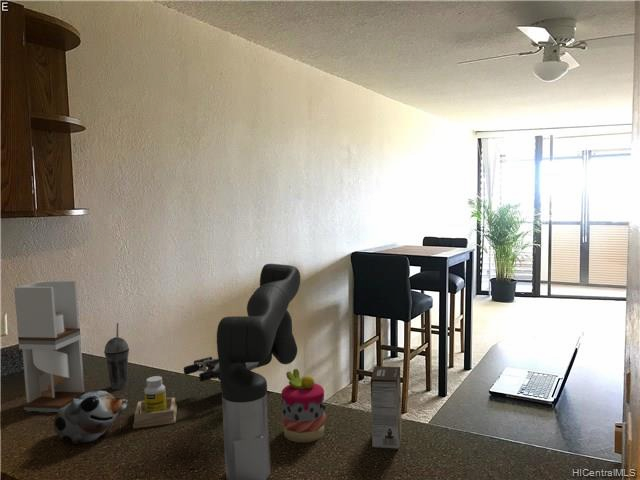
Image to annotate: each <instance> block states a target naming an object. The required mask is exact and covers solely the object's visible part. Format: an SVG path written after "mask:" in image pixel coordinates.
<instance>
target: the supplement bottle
mask: <svg viewBox="0 0 640 480" xmlns="http://www.w3.org/2000/svg"><path fill="white" fill-rule="evenodd" d="M166 398H167V392H166V386H165V385H164V384H163V377H162V376H160V375H154V376H150V377H148V378H146V387H144V401H145V413H149V412H157V411H165V410H167V408H166Z"/></svg>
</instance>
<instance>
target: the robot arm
mask: <svg viewBox="0 0 640 480" xmlns="http://www.w3.org/2000/svg"><path fill="white" fill-rule="evenodd" d="M259 275H260V277H259V287H258V288H256V289H255V291H253V293H252V294H251V296H250V298H248V301H247V305H246V314H247V316H246V315H245V316H225V317H223V318H221V320H220V321H219V322H218V325H217V328H216V329H217V330H216V350H217V358H213V357H212V356H209V357H204V358H201V359H196V360H194V361H193V364H189V365H186V366H184V367H183V374H184V375H190V374H194V373H198V372H200V373H199V374H198V378H199V381H200V382H205V381H209V380H212V379H213V380H219V382H220V389H221V402H222V405H221V406H222V424H223V443H224V461H225V462H224V463H225V477H226V480H267V479H268V478H269V477H270V475H271V472H272V471H271V451H270V450H271V449H270V431H269V429H270V428H269V427H270V426H269V405H268V404H269V403H268V402H269V401H268V382H267V379H266V377H264V376H263V375H262V374H260V373H258V372H255V371H253V370H255V369H258V368H261V367H265V366H267V365H268V364H270V363H271V362H272V359H273V356H274V358H275V359H276V360H277V361H278V362H279V363H280V364H281V365H290V364H291V363H292V362H294V361H295V359H296V358H297V355H298V345H297V342H296V339H295V336H294V334H293V322H292V321H293V320H292V317H291V314H290V311H288V308H289V304H290V303H291V301H292V300H293V299H294V298H295V297H296V295H297V293H298V291H299V289H300V284H301V273H300V271H299V269H298V267H296V266H294V265H289V264H280V263H279V264H278V263H266V264H265V265H264V266H262V268H261V270H260V274H259Z"/></svg>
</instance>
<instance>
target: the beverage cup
mask: <svg viewBox="0 0 640 480" xmlns="http://www.w3.org/2000/svg"><path fill="white" fill-rule="evenodd" d="M115 335H116V337H112V338H110V339H109V340H108V341H107V342H106V344H105V345H104V352H103V354H104V356H105V359H106V364H107V370H108V376H109V377H108V378H109V383H110V388H111V389H112V390H115V389H117V390H122V389H125V388H127V386H128V371H129V370H128V367H129V365H128V364H129V362H128V360H129V358H128V357H129V353H130V348H129V345H128V343H127V341H126V340H125V339H124V338H123V337H119V322H116V334H115Z"/></svg>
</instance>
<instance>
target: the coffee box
mask: <svg viewBox="0 0 640 480" xmlns="http://www.w3.org/2000/svg"><path fill="white" fill-rule="evenodd" d="M401 387H402V386H401V366H374V367H373V369H372V374H371V377H370V398H371V399H370V404H371V405H370V407H371V408H370V409H371V410H370V411H371V440H372V441H371V445H372V447H373V448H382V449H383V448H384V449H397V450H398V449H400V445H401V438H402V432H403V431H402V399H401V398H402V393H401V392H402V391H401Z"/></svg>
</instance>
